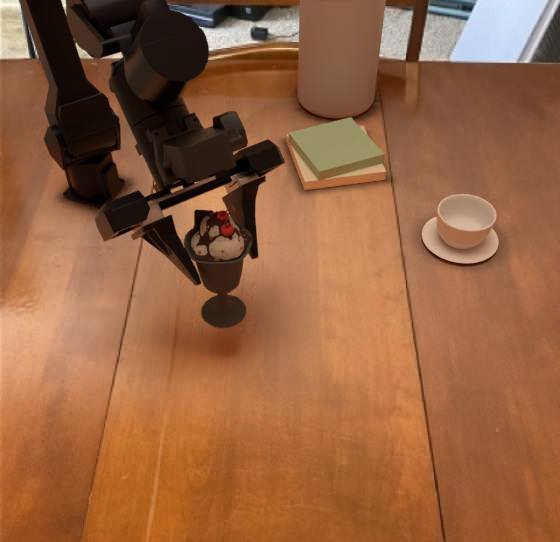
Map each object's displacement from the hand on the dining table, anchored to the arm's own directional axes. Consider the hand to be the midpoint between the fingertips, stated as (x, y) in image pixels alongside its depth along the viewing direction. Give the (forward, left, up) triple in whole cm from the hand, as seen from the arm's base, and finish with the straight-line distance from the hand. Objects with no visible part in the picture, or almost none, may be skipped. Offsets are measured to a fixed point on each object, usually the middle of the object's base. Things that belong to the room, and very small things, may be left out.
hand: (227, 271), depth 68 cm
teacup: (+19, +29, -13) cm, 37 cm away
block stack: (-2, +39, -13) cm, 42 cm away
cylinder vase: (-8, +55, -13) cm, 57 cm away
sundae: (-1, +1, -7) cm, 7 cm away
